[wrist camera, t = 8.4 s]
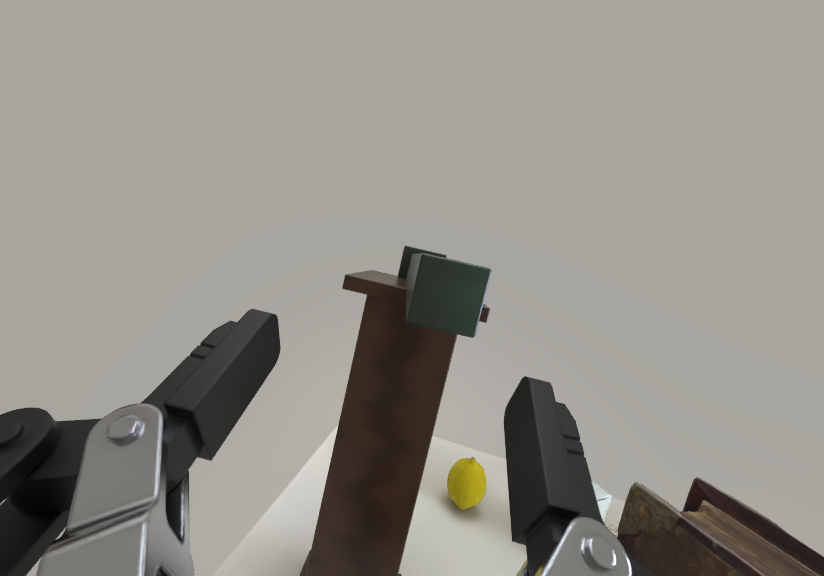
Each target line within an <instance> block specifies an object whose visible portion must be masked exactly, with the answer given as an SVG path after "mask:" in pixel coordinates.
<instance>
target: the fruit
mask: <svg viewBox="0 0 824 576" xmlns="http://www.w3.org/2000/svg"><path fill="white" fill-rule="evenodd" d="M447 487H448V492H449V494H450V497H451V499H452V500H453V501H454V502H455V503H456V505H457V507H458V508H459V509H460V510H465V509H467V508H471V507H474V506H475V505H477V504H478V503H479V502H480V501H481V500H482V498H483V496H484V494H485V492H486V476H485V472H484V469H483V467H482V466H481V465H480V464H479V463H478V462H476V460H475V458H474V457H473V458H470V459H468V458H465V459H460V460H458V461H457V462H456V463H455V464H454V466H453V467H452V468H451V470H450V472H449V475H448V481H447Z"/></svg>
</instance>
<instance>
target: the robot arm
mask: <svg viewBox="0 0 824 576" xmlns="http://www.w3.org/2000/svg"><path fill="white" fill-rule="evenodd" d="M279 354H280V338H279V327H278V318H277V316H276V315H275V314H272V313H267V312H263V311H259V310H255V309H251V310H249V311H248V312H247V313H246V314H245V315H244V316H243V317H242V318H241V319H240V320H239V321H238V322H233V321H229V322H227V323H225V324H224V325H222V326H220V327H218V328H216V329H215V330H213V331H212V332H211V333H210V334H209V335H208V336H207V337H206V338H205V339H204V340H203V341H202V342H201V345H200V346H197V348H195V349H194V350H193V351H192V352H191V354H190V356H188V357H187V358H186V359H185V360H184V361H183V362H182V363H181V364H180V365H179V366H178V367H177V368H176V369H175V370H174V371H173V372H172V373H171V374H170V375H169V376H168V377H167V378H166V379H165V380H164V381H163V382H162V383H161V384H160V385H159V386H158V387H157V388H156V389H155V390H154V391H153V392H152V393H151V394H150V395H149V396H148V397H147V398H146V399H145V400H144V401H142V402H141V403H140V404H132V405H128V406H125V407H122V408H119V409H117V410H115V411H113V412H112V413H109V414H108V415H107V416H105V417H104V418H102V419H90V420H74V421H55V420H54V419H53V418H52V417H51V415H50V414H49V413H48V412H47V411H45V410H43V409H40V408H23V409H17V410H13V411H10V412H7V413H4V414H2V415H0V503H1V502H2V501H3V500H4V499H5V501H4V503H2V504H1V505H0V576H26V575H27V573H28V572H29V571H30V570H31V568H32V567H33V566H34V565H35V564H36V562H37V561H38V560H39V559H40V558H41V556H42V558H41V560H40V563H39V566H38V570H37V574H36V576H194V568H193V561H192V557H191V553H190V543H189V471H188V469H189V468H190V467H191V465H192V464H193V462H194V461H195V459H196V458H197V457H199V458H203V459H207V460H212V459H213V457H214V456H215V454H216V452H217V451H218V450H219V448H220V447H221V445H222V444H223V442H224V441H225V439H226V438H227V436H228V435H229V433H230V432H231V430H232V429H233V427H234V426H235V424H236V423H237V421H238V420H239V418H240V417H241V415H242V414H243V412H244V411H245V409H246V408H247V406H248V405H249V403H250V402H251V400H252V399H253V397H254V396H255V394H256V393H257V391H258V390H259V388H260V387H261V385H262V384H263V382H264V381H265V379H266V378H267V376H268V375H269V373H270V372H271V370H272V369H273V367H274V366H275V364H276V362H277V360H278V357H279ZM504 431H505V446H506V461H507V475H508V489H509V503H510V517H511V532H512V542H516V543H520V544H524V545H526V549H527V560H526V561H525V563H524V564H523V566H522V567H521V569H520V571H519V572H518V574H517V576H659V575H657V574H656V573H654V572H652V571H651V570H649V569H648V568H646V567H644V566H643V565H641V564H640V563H638V562H636V561H635V560H634V559H632V558H631V557H630V556H629V555H627V554H626V552H625V550H624V548H623V546H622V544H621V543H620V541H619V540H618V539H617V537H616V536H615V535H614V534H613V533H612V532H611V531H610V530H609V529H608V528H607V527H606V526H605V524H604V522H603V520H602V517H601V514H600V510H599V506H598V503H597V499H596V495H595V491H594V488H593V484H592V480H591V477H590V473H589V469H588V466H587V462H586V458H585V457H584V451H583V447H582V444H581V442H580V436H579V432H578V429H577V425H576V421H575V420H574V418H573V416H572V415H571V413H570V412H569V410H568V409H567V407H566V406H565V404H562V403H558V402H556V401H555V397H554V392H553V388H552V385H551V384H550V383H549V382H546V381H542V380H538V379H534V378H529V377H526V376H525V377H523V378H522V380H521V382H520V383H519V385H518V387H517V388H516V390H515V392H514V394H513V395H512V397H511V399H510V401H509V403H508V404H507V407H506V410H505V416H504ZM65 527H66V530H65V532H64V534H63V535H62V536H61V537H60V538H59V539H57V540H55V539H56V538H57V537H58V536H59V535H60V533H61V532H62V531H63V529H64V528H65Z"/></svg>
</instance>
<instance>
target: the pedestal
mask: <svg viewBox="0 0 824 576" xmlns="http://www.w3.org/2000/svg"><path fill="white" fill-rule="evenodd" d="M343 289H346V290H350V291H355V292H359V293H363V294H367V298H366V302H365V307H364V312H363V316H362V321H361V325H360V330H359V335H358V339H357V343H356V348H355V352H354V357H353V361H352V366H351V371H350V375H349V380H348V384H347V389H346V393H345V398H344V403H343V407H342V412H341V416H340V421H339V425H338V430H337V435H336V439H335V444H334V448H333V453H332V457H331V462H330V466H329V471H328V476H327V480H326V485H325V489H324V494H323V498H322V503H321V508H320V512H319V517H318V521H317V526H316V530H315V535H314V539H313V544H312V549H311V550H310V551H309V554H308V556H307V559H306V561H305V564H304V566H303V568H302V571H301V573H300V576H401V574H398V571H399V567H400V563H401V559H402V555H403V551H404V547H405V543H406V539H407V535H408V531H409V527H410V523H411V519H412V515H413V511H414V507H415V503H416V499H417V495H418V491H419V487H420V483H421V479H422V475H423V471H424V467H425V463H426V459H427V455H428V451H429V447H430V443H431V439H432V435H433V430H434V426H435V422H436V418H437V414H438V410H439V406H440V402H441V398H442V394H443V390H444V386H445V382H446V378H447V374H448V370H449V366H450V362H451V358H452V354H453V350H454V346H455V342H456V338H457V334H453V333H449V332H444V331H440V330H435V329H431V328H427V327H422V326H418V325H413V324H409V323H407V322H406V279H404V278H399V277H398V276H395V275H390V274H386V273H382V272H378V271H373V270H370V271H364V272H358V273H353V274H347V275H345V278H344V283H343ZM489 311H490V308H488V307H487V306H486V305H485V304H484V303H483V307H482V311H481V315H480V319H479V321H481V322H485V323H486V322H487V319H488V315H489Z"/></svg>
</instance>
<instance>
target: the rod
mask: <svg viewBox="0 0 824 576" xmlns="http://www.w3.org/2000/svg"><path fill="white" fill-rule="evenodd" d="M490 275H491V269H490V268H486V267H481V266H477V265H473V264H469V263H464V262H460V261H456V260H452V259H447V258H446V255H443V254H439V253H434V252H430V251H425V250H422V249H417V248H412V247H409V246H405V247H404V251H403V255H402V260H401V264H400V269H399V274H398V277H399V278H404V279H406V322H407V323H409V324H413V325H418V326H422V327H427V328H431V329H435V330H440V331H444V332H449V333H453V334H458V335H462V336H467V337H471V338H473V337H475V335H476V331H477V327H478V323H479V319H480V315H481V311H482V307H483V303H484V299H485V295H486V291H487V287H488V284H489V280H490Z"/></svg>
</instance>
